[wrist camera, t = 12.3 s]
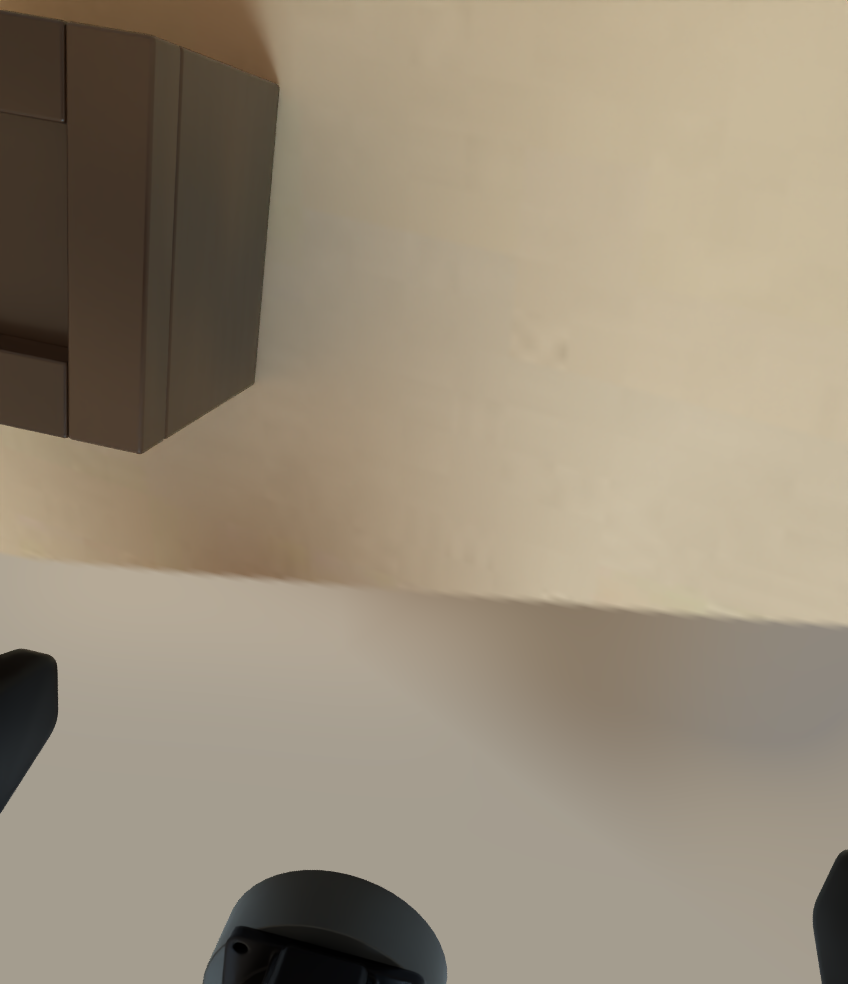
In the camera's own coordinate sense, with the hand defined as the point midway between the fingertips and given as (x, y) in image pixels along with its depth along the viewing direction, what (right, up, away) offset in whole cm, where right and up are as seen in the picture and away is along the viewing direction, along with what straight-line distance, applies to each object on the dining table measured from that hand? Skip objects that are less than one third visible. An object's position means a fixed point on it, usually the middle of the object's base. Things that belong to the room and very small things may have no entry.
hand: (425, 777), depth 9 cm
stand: (-7, +10, +10) cm, 16 cm away
